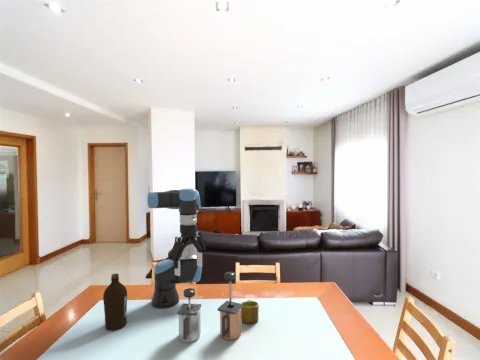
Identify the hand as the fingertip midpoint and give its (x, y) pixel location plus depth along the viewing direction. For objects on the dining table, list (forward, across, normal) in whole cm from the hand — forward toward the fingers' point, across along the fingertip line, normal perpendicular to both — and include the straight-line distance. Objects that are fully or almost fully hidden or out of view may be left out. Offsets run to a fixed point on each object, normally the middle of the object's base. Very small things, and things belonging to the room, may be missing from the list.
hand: (189, 270), depth 129 cm
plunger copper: (+20, +11, -15) cm, 27 cm away
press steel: (+30, -2, -1) cm, 30 cm away
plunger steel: (+27, -1, -1) cm, 27 cm away
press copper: (+30, +10, -15) cm, 35 cm away
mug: (+30, +28, -14) cm, 44 cm away
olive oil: (+30, -15, +35) cm, 49 cm away
